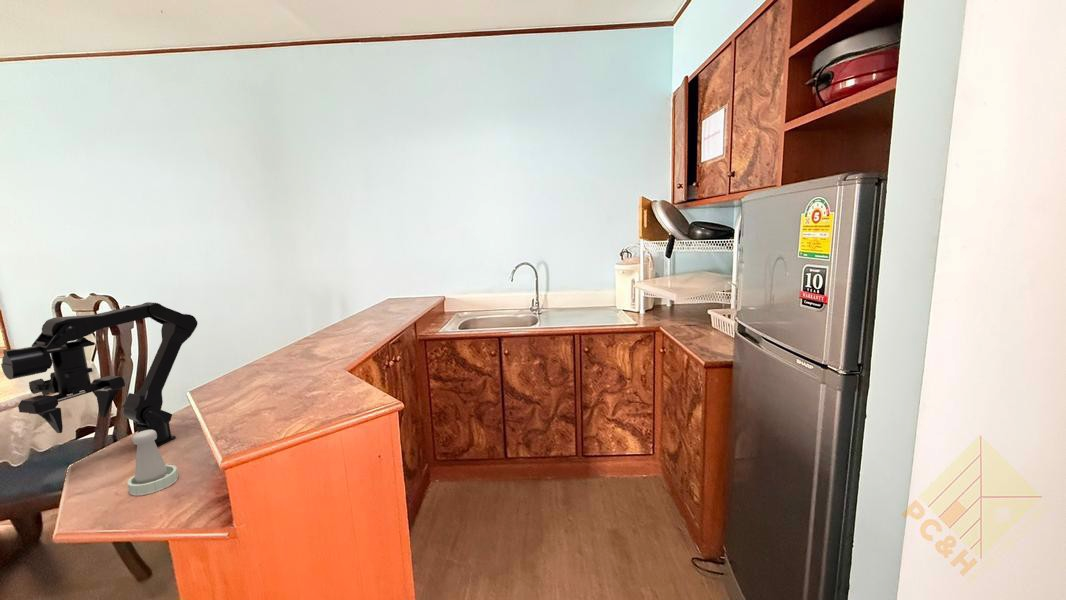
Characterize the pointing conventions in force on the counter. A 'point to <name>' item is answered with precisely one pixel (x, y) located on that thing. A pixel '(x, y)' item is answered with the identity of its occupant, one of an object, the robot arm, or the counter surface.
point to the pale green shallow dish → (153, 483)
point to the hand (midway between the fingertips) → (82, 424)
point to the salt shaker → (148, 458)
